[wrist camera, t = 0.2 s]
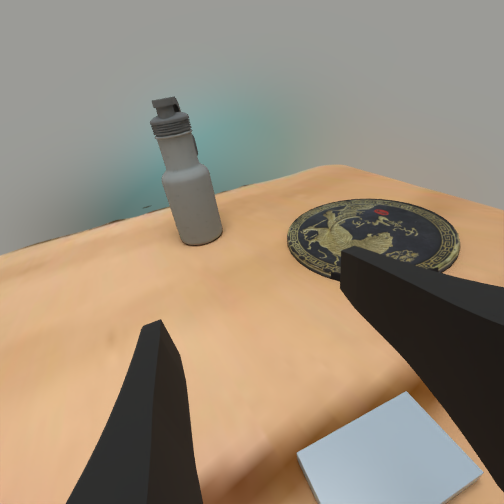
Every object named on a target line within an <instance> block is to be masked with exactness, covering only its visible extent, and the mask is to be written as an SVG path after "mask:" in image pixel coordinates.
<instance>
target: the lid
mask: <svg viewBox="0 0 504 504" xmlns="http://www.w3.org/2000/svg"><path fill="white" fill-rule="evenodd" d="M297 459H298V462H299V464H300V466H301V468H302V471H303V473H304V475H305V477H306V479H307V481H308V483H309V486H310V488H311V490H312V492H313V494H314V496H315V498H316V501H317V503H318V504H445V503H447V502H448V501H450V500H451V499H452V498H454V497H455V496H457V495H458V494H459V493H461V492H462V491H463V490H465V489H466V488H468V487H469V486H470V485H472V484H473V483H474V482H476V481H477V480H478V479H479V478H480V477H481V475H482V474H483V473H484V472H483V471H482V470H481V469H480V468H479V467H478V466H477V465H476V464H475V463H474V462H473V461H472V460H471V459H470V458H469V457H468V456H467V455H466V453H465V452H464V451H463V450H462V449H461V448H460V447H459V446H458V445H457V444H456V443H455V442H454V441H453V440H452V439H451V438H450V437H449V436H448V435H447V434H446V432H445V431H444V430H443V429H442V428H441V427H440V426H439V425H438V424H437V423H436V422H435V421H434V420H433V419H432V418H431V417H430V416H429V415H428V414H427V413H426V411H425V410H424V409H423V408H422V407H421V406H420V405H419V404H418V403H417V402H416V401H415V400H414V399H413V398H412V397H411V396H410V395H409V394H408V393H407V392H404V393H402V394H400V395H399V396H397V397H395V398H393V399H391V400H390V401H388V402H386V403H384V404H383V405H381V406H379V407H377V408H375V409H374V410H372V411H370V412H368V413H367V414H365V415H363V416H361V417H359V418H358V419H356V420H354V421H352V422H351V423H349V424H347V425H345V426H344V427H342V428H340V429H338V430H336V431H335V432H333V433H331V434H329V435H328V436H326V437H324V438H322V439H320V440H319V441H317V442H315V443H313V444H312V445H310V446H308V447H306V448H304V449H303V450H301V451H299V452H297Z"/></svg>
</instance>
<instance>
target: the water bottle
mask: <svg viewBox="0 0 504 504" xmlns="http://www.w3.org/2000/svg"><path fill="white" fill-rule="evenodd" d="M152 104H153V107H154V108H156V110H157V114H158V116H156V117H155V118H153V119H152V120H151V121H150V124H151V125H152V126H151V127H152V130H153V132H154V135H156V136H155V139H157V141H158V144H159V147H160V150H161V154H162V157H163V160H164V163H165V166H166V171H165V173H164V174H163V176H162V183H163V187H164V190H165V193H166V196H167V199H168V202H169V204H170V208H171V211H172V214H173V217H174V220H175V223H176V226H177V229H178V232H179V235H180V238H181V240H182V241H183V242H184V243H186V244H189V245H202V244H206V243H209V242H211V241H213V240H215V239H216V238H218V237H219V236H220V234H221V233H222V225H221V220H220V216H219V212H218V207H217V203H216V199H215V195H214V190H213V186H212V182H211V178H210V173H209V170H208V169H207V167H206V166H204V165H203V164H200V163H199V162H198V158H197V155H198V151H197V147H196V143H195V139H194V136H193V135H192V134H191V132H192V130H191V129H190V128H191V126H190V124H189V123H190V122H189V119H188V118H189V116H188V114H186V113H183V112H181V111H180V107H179V104H178V102H177V100H176V98H175V97H169V98H164V99H158V100H153V101H152Z"/></svg>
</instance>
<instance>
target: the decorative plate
mask: <svg viewBox="0 0 504 504" xmlns="http://www.w3.org/2000/svg"><path fill="white" fill-rule="evenodd" d="M287 242H288V248H289V250H290V252H291V254H292V255H293V257H294V258H295V259H296V260H297V261H298V262H299V263H300V264H302V265H303V266H305V267H306V268H307V269H309V270H311V271H313V272H315V273H317V274H319V275H321V276H324V277H327V278H330V279H333V280H337V281H340V272H341V250H344V249H347V248H349V247H352V246H357V247H361V248H364V249H367V250H370V251H373V252H376V253H379V254H382V255H385V256H388V257H391V258H394V259H397V260H400V261H403V262H406V263H409V264H412V265H415V266H419V267H422V268H425V269H429V270H432V271H436V272H439V273H442V272H443V271H445V270H447V269H448V268H450V266H451V265H452V264H453V263H454V261H455V260H456V259H457V258H458V254H459V250H460V240H459V235H458V233H457V232H456V230H455V229H454V227H453V226H452V225H451V224H450V223H449V222H448V221H447V220H446V219H444V218H443V217H441V216H439V215H438V214H436V213H434V212H432V211H430V210H427V209H425V208H422V207H419V206H416V205H412V204H409V203H404V202H398V201H392V200H383V199H352V200H344V201H338V202H333V203H328V204H325V205H322V206H319V207H316V208H314V209H311V210H309V211H307V212H306V213H304V214H302V215H301V216H299V217H298V218H297V219H296V220H295V221H294V222H293V223H292V225H291V226H290V228H289V231H288V234H287Z"/></svg>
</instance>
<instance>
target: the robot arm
mask: <svg viewBox="0 0 504 504" xmlns="http://www.w3.org/2000/svg"><path fill="white" fill-rule="evenodd" d="M340 289H341V291H342V292H343V293H344V295H345V296H346V297H347V299H348V300H349V301H350V303H351V304H352V305H353V306H354V308H355V309H356V310H357V311H358V312H359V313H360V314H361V315H362V316H363V317H364V318H365V319H366V320H367V321H368V322H369V323H370V324H371V325H372V326H373V327H374V328H375V329H376V330H377V331H378V332H379V333H380V334H381V335H382V336H383V337H384V338H385V339H386V340H387V341H388V342H389V343H390V344H391V345H392V346H393V347H394V348H395V349H396V350H397V352H398V353H399V354H400V355H401V356H402V357H403V358H404V359H405V360H406V361H407V363H408V364H409V365H410V366H411V367H412V369H413V370H414V371H415V372H416V374H417V375H418V376H419V377H420V378H421V380H422V381H423V382H424V383H425V385H426V386H427V387H428V388H429V390H430V391H431V392H432V394H433V395H434V396H435V397H436V399H437V400H438V401H439V403H440V404H441V405H442V406H443V408H444V409H445V410H446V412H447V413H448V414H449V416H450V417H451V419H452V420H453V421H454V423H455V424H456V425H457V427H458V428H459V429H460V431H461V432H462V434H463V435H464V436H465V438H466V439H467V441H468V442H469V443H470V445H471V446H472V448H473V449H474V451H475V452H476V454H477V455H478V457H479V458H480V460H481V461H482V462H483V464H484V465H485V467H486V468H487V470H488V471H489V473H490V474H491V476H492V477H493V479H494V481H495V482H496V484H497V485H498V486H499V488H500V489H501V490H502V491H503V492H504V287H499V286H494V285H489V284H484V283H480V282H475V281H471V280H466V279H462V278H458V277H454V276H450V275H446V274H443V273H439V272H436V271H432V270H429V269H425V268H422V267H419V266H415V265H412V264H409V263H406V262H403V261H400V260H397V259H394V258H391V257H388V256H385V255H382V254H379V253H376V252H373V251H370V250H367V249H364V248H361V247H357V246H352V247H349V248H347V249H344V250H341V272H340ZM66 504H203V501H202V495H201V490H200V485H199V480H198V475H197V470H196V464H195V457H194V450H193V441H192V432H191V422H190V413H189V403H188V394H187V385H186V379H185V374H184V370H183V365H182V361H181V357H180V354H179V352H178V350H177V348H176V346H175V344H174V343H173V341H172V339H171V337H170V335H169V333H168V331H167V330H166V328H165V326H164V324H163V322H162V320H161V319H160V320H158V321H155V322H152V323H150V324H147V325H144V326H143V327H142V329H141V332H140V335H139V339H138V342H137V345H136V348H135V351H134V354H133V357H132V360H131V363H130V366H129V369H128V372H127V374H126V377H125V380H124V382H123V385H122V388H121V390H120V393H119V395H118V398H117V400H116V402H115V405H114V407H113V410H112V412H111V414H110V417H109V419H108V421H107V424H106V426H105V428H104V430H103V432H102V435H101V437H100V439H99V441H98V443H97V445H96V447H95V449H94V451H93V453H92V455H91V457H90V459H89V461H88V463H87V465H86V467H85V469H84V471H83V473H82V475H81V476H80V478H79V480H78V482H77V484H76V486H75V488H74V489H73V491H72V493H71V495H70V497H69V499H68V500H67V502H66Z"/></svg>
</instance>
